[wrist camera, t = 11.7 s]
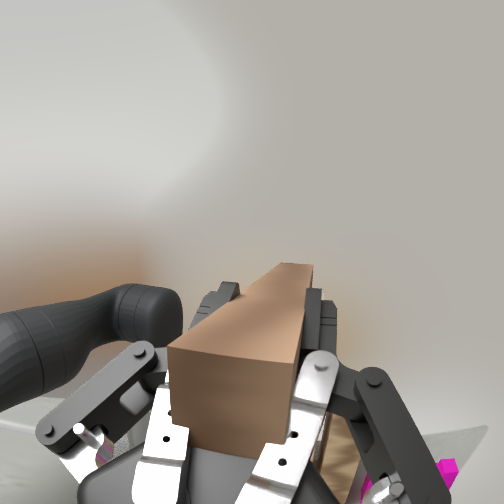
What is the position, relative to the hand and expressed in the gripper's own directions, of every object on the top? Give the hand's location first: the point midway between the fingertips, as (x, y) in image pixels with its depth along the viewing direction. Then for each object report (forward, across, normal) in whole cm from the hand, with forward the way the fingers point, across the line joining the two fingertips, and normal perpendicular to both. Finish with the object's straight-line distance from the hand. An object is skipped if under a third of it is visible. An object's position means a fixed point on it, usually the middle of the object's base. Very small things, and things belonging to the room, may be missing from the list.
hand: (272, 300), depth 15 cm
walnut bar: (+2, 0, -5) cm, 5 cm away
